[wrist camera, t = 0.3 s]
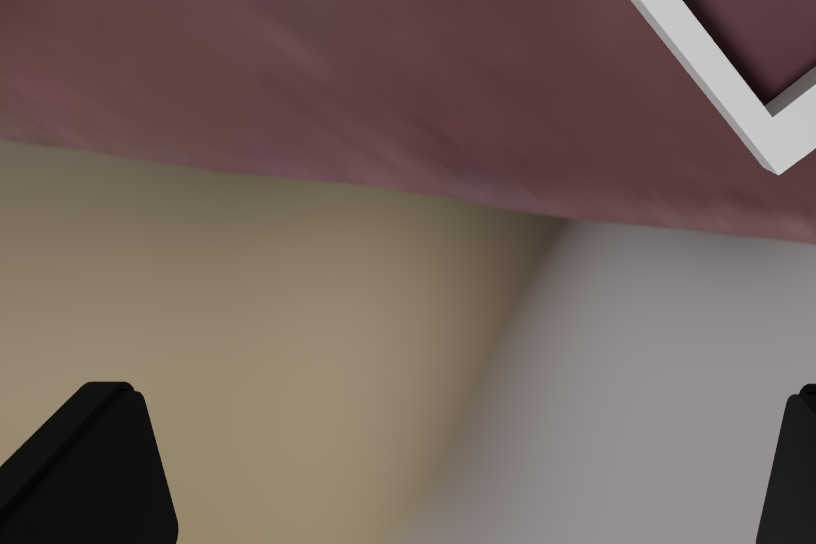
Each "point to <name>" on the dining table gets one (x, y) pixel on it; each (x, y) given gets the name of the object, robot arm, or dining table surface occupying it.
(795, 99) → the board
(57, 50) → the dining table surface
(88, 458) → the robot arm
